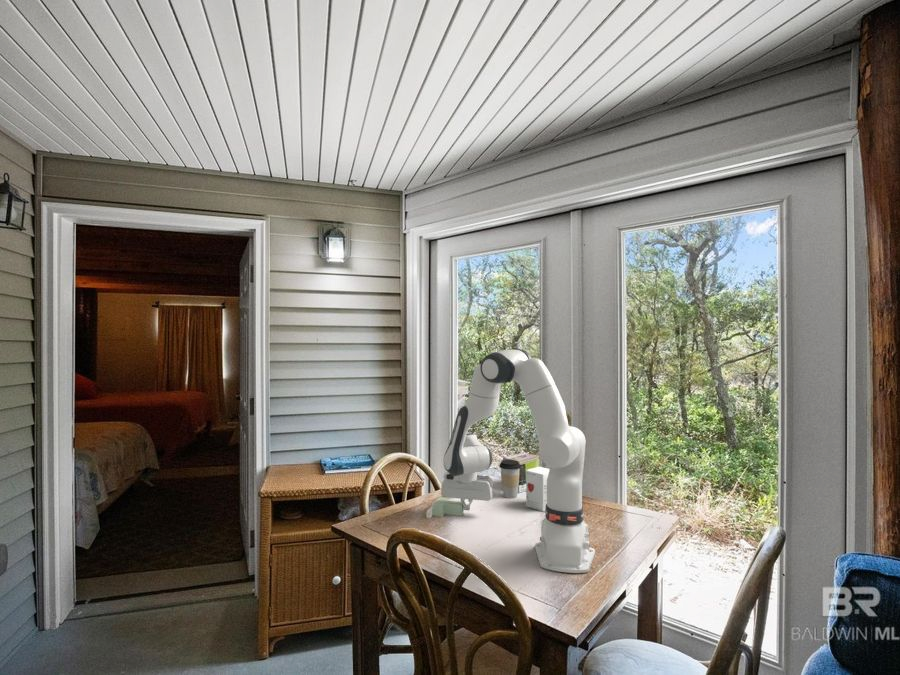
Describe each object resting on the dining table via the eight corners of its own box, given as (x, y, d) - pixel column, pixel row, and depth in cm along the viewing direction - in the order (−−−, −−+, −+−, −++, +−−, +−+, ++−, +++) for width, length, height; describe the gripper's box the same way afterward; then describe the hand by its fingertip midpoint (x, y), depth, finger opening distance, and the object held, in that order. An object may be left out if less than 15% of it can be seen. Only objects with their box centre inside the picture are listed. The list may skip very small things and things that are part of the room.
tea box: (524, 482, 225) (523, 451, 225) (540, 487, 217) (540, 455, 218) (502, 488, 215) (502, 456, 216) (519, 493, 208) (518, 460, 208)
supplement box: (525, 506, 191) (525, 469, 192) (538, 501, 197) (538, 466, 198) (543, 512, 185) (543, 474, 185) (556, 506, 191) (556, 470, 191)
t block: (459, 518, 178) (459, 507, 178) (432, 515, 181) (432, 505, 181) (465, 509, 188) (465, 499, 188) (439, 507, 190) (439, 497, 190)
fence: (455, 520, 175) (455, 514, 176) (426, 518, 178) (426, 511, 178) (464, 506, 191) (464, 500, 191) (438, 504, 194) (438, 498, 194)
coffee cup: (518, 500, 198) (518, 465, 199) (497, 498, 201) (496, 463, 202) (522, 494, 207) (522, 460, 207) (501, 492, 210) (501, 458, 211)
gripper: (494, 474, 183) (494, 509, 183) (444, 470, 189) (444, 504, 188) (491, 478, 177) (491, 514, 177) (439, 474, 183) (439, 510, 182)
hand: (466, 509), depth 183 cm, fingers closed
